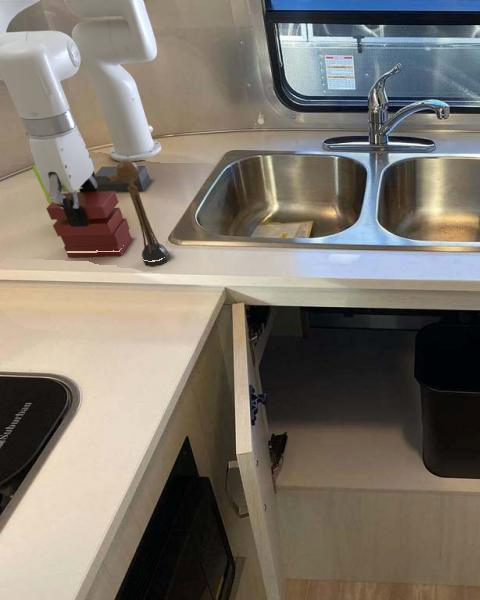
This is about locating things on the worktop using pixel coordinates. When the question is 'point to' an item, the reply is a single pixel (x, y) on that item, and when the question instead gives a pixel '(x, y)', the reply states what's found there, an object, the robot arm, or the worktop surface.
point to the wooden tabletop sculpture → (140, 214)
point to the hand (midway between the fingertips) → (87, 215)
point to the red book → (88, 205)
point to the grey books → (117, 185)
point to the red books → (96, 235)
